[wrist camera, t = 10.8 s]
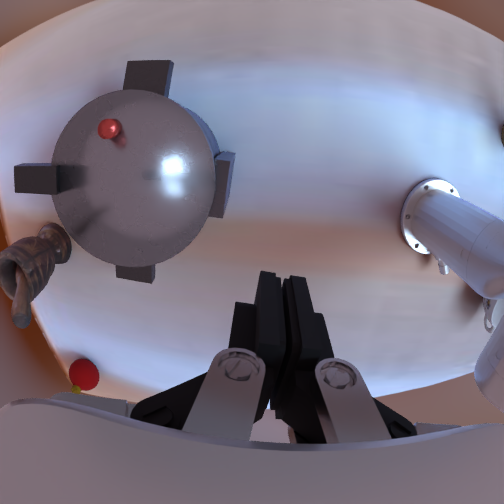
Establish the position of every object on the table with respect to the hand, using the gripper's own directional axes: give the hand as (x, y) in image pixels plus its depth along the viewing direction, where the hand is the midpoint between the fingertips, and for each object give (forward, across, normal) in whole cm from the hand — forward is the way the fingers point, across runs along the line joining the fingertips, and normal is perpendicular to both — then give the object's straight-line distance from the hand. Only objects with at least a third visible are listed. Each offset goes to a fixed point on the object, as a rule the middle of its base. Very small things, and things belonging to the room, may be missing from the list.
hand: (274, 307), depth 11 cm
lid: (+18, +17, 0) cm, 25 cm away
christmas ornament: (+29, +32, +43) cm, 61 cm away
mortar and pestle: (+28, +32, +14) cm, 45 cm away
